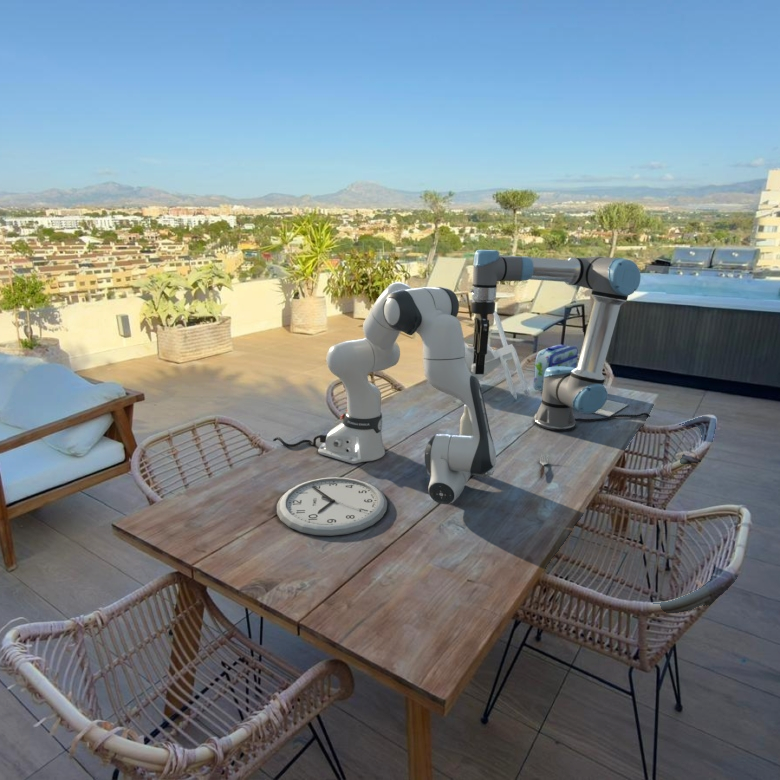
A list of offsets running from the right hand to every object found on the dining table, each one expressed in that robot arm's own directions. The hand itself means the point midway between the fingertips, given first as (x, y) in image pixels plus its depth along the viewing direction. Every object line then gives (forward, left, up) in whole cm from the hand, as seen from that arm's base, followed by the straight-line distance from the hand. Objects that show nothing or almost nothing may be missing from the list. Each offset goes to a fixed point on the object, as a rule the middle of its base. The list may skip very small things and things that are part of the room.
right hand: (478, 371), depth 172 cm
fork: (-22, +12, -28) cm, 37 cm away
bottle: (+3, +17, -28) cm, 33 cm away
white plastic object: (-5, -67, -28) cm, 73 cm away
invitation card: (-57, -55, -28) cm, 84 cm away
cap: (0, 0, +2) cm, 2 cm away
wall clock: (+39, +44, -28) cm, 65 cm away
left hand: (+3, +16, -22) cm, 27 cm away
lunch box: (-41, -78, -28) cm, 93 cm away
